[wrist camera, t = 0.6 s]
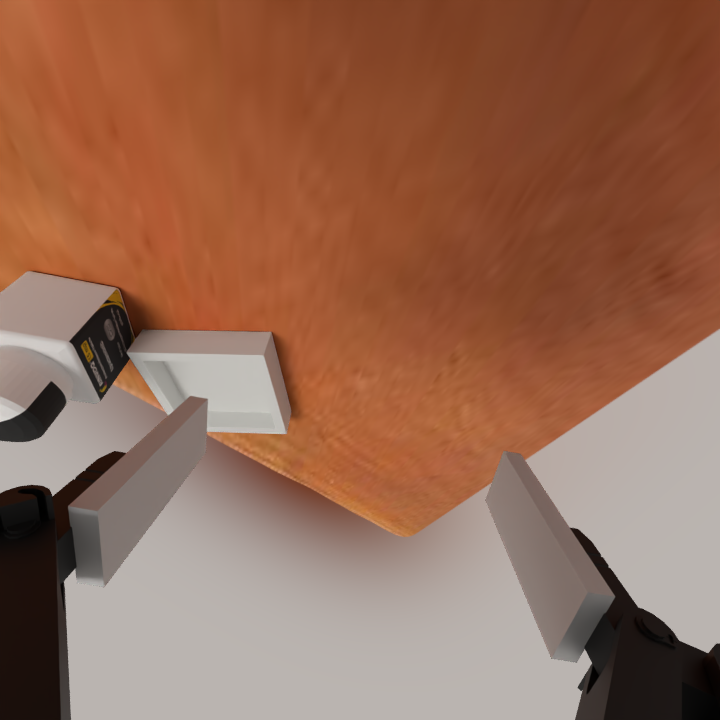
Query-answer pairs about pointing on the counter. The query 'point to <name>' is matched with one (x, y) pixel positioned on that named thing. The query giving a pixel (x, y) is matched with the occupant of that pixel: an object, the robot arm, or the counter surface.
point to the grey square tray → (217, 376)
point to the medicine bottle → (57, 349)
